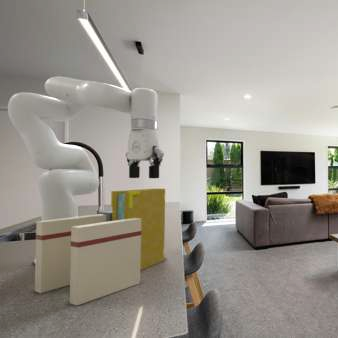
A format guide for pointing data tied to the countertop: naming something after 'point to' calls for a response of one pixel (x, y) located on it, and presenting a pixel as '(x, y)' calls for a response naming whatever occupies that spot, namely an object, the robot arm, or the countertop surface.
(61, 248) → the cream book
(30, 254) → the countertop surface
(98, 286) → the cream panel
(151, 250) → the book
